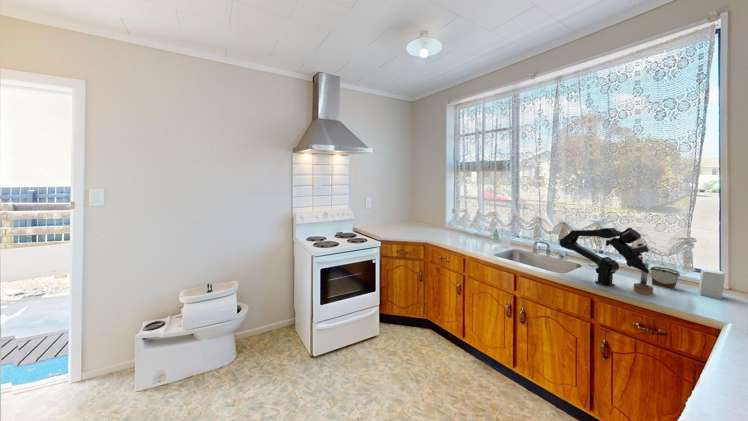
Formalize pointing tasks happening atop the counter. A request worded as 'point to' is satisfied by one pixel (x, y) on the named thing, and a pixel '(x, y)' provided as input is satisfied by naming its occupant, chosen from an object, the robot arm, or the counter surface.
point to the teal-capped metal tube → (644, 275)
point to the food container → (664, 277)
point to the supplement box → (711, 283)
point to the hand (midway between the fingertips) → (648, 272)
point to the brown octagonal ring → (643, 288)
